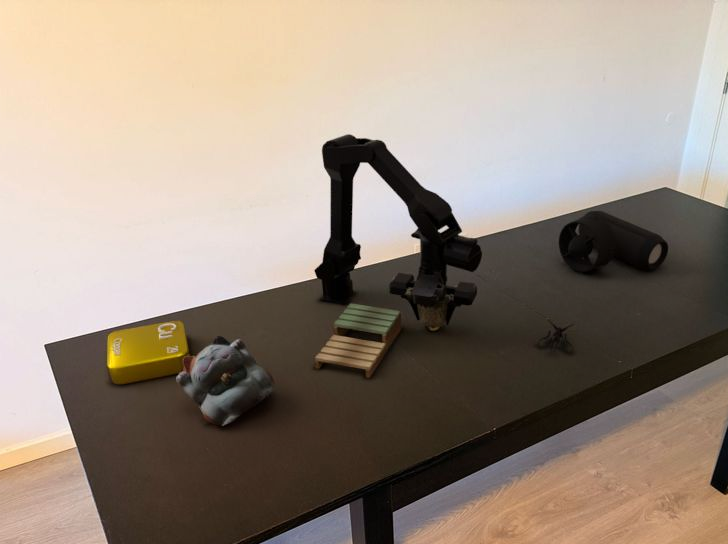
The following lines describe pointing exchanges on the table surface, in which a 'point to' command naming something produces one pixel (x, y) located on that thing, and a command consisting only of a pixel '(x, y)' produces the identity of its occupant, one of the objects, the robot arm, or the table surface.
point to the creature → (557, 337)
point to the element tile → (146, 352)
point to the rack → (356, 349)
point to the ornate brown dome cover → (433, 315)
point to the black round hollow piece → (587, 243)
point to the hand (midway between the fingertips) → (433, 321)
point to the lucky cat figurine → (224, 380)
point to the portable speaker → (632, 242)
